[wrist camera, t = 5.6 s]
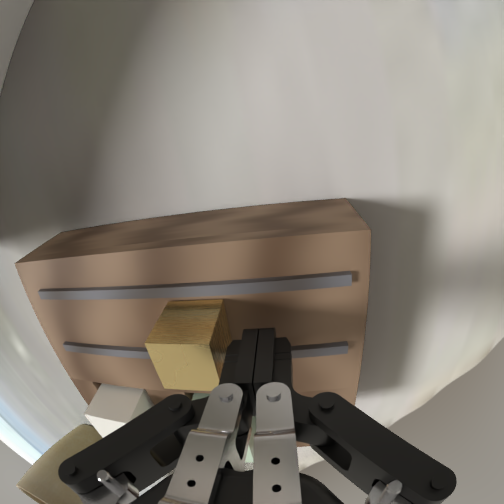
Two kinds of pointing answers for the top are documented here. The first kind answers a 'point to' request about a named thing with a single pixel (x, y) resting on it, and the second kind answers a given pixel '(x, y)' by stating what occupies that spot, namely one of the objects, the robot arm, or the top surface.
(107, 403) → the off-white button
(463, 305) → the top surface
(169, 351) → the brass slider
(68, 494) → the plant pot
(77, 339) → the switch panel
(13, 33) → the rounded white slab
